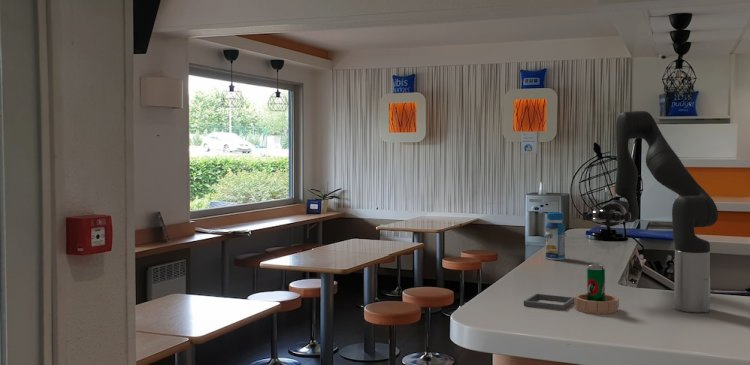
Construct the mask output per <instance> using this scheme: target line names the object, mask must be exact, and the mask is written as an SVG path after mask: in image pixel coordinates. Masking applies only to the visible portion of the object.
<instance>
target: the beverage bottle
mask: <svg viewBox="0 0 750 365" xmlns="http://www.w3.org/2000/svg"><path fill="white" fill-rule="evenodd" d="M546 218H547V221H548V222H547V223H546V225H545V231H546V232H545V233H544V235H545V258H546V259H547V260H552V261H562V260H565V259H566V253H565V252H566V248H565V247H566V246H565V245H566V226H565V224H564V222H563V221H564V212H563V211H562V212H561V211H549V212H547V216H546Z"/></svg>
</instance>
